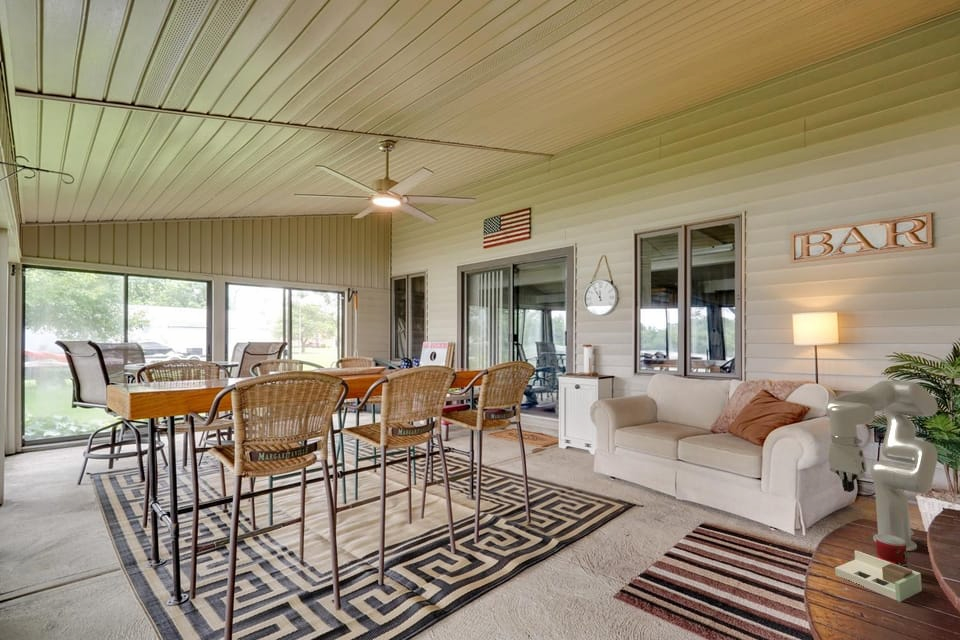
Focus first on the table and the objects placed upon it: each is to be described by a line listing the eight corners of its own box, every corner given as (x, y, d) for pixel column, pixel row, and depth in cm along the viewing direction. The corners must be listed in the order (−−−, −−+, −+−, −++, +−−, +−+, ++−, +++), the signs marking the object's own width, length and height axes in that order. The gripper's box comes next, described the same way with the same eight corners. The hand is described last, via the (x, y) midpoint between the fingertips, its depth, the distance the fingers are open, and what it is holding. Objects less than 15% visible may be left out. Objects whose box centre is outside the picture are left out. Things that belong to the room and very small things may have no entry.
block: (892, 575, 153) (891, 563, 153) (913, 583, 148) (912, 570, 148) (883, 579, 151) (882, 567, 151) (904, 587, 146) (903, 575, 146)
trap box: (857, 565, 164) (856, 550, 165) (921, 590, 148) (920, 573, 148) (835, 575, 159) (834, 559, 159) (900, 601, 143) (898, 583, 143)
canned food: (902, 579, 155) (899, 546, 155) (873, 568, 162) (871, 537, 162) (912, 572, 159) (910, 540, 159) (883, 563, 166) (881, 532, 166)
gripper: (874, 442, 162) (879, 494, 162) (827, 434, 176) (831, 483, 176) (863, 446, 159) (868, 499, 159) (816, 438, 172) (820, 487, 172)
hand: (848, 490), depth 167 cm, fingers closed
